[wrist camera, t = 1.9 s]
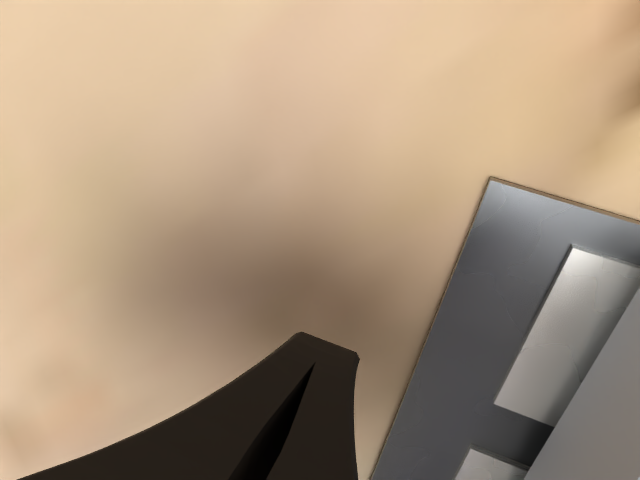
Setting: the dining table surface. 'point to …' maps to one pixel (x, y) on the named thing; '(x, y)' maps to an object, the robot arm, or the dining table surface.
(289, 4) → the dining table surface
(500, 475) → the label panel
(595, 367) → the gray rectangular box
